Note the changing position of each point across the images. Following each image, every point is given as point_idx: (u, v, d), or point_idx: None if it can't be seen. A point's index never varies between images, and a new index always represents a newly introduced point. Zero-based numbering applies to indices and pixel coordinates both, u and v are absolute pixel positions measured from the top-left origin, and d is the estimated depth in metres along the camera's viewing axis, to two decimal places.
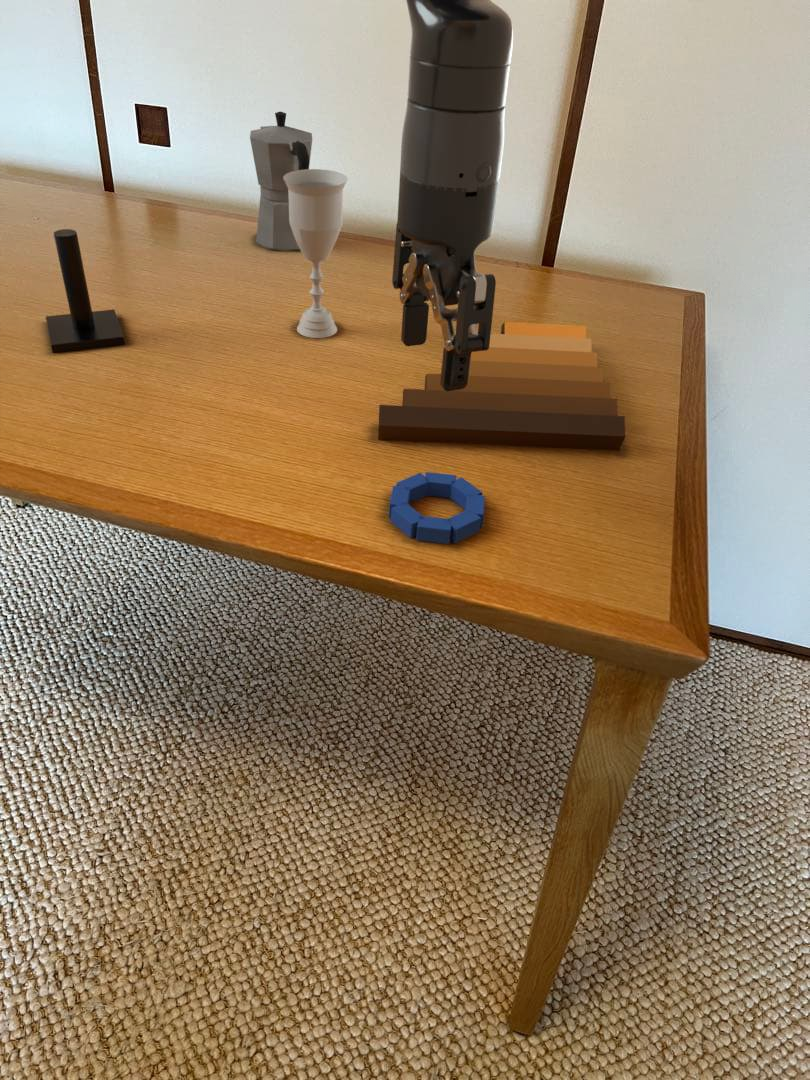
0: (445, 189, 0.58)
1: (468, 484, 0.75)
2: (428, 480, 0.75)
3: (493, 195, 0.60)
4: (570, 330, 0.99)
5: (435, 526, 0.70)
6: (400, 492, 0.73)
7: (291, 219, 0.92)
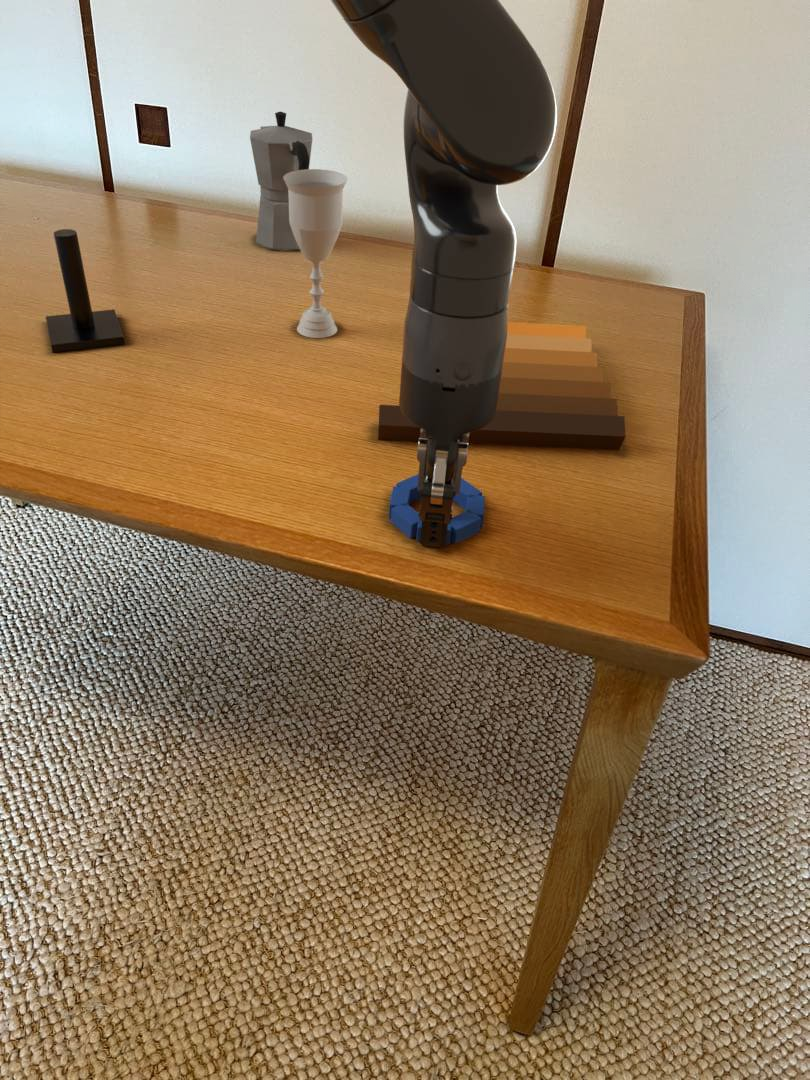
0: (423, 379, 0.58)
1: (468, 484, 0.75)
2: None
3: (480, 393, 0.59)
4: (570, 330, 0.99)
5: None
6: (400, 493, 0.73)
7: (291, 219, 0.92)
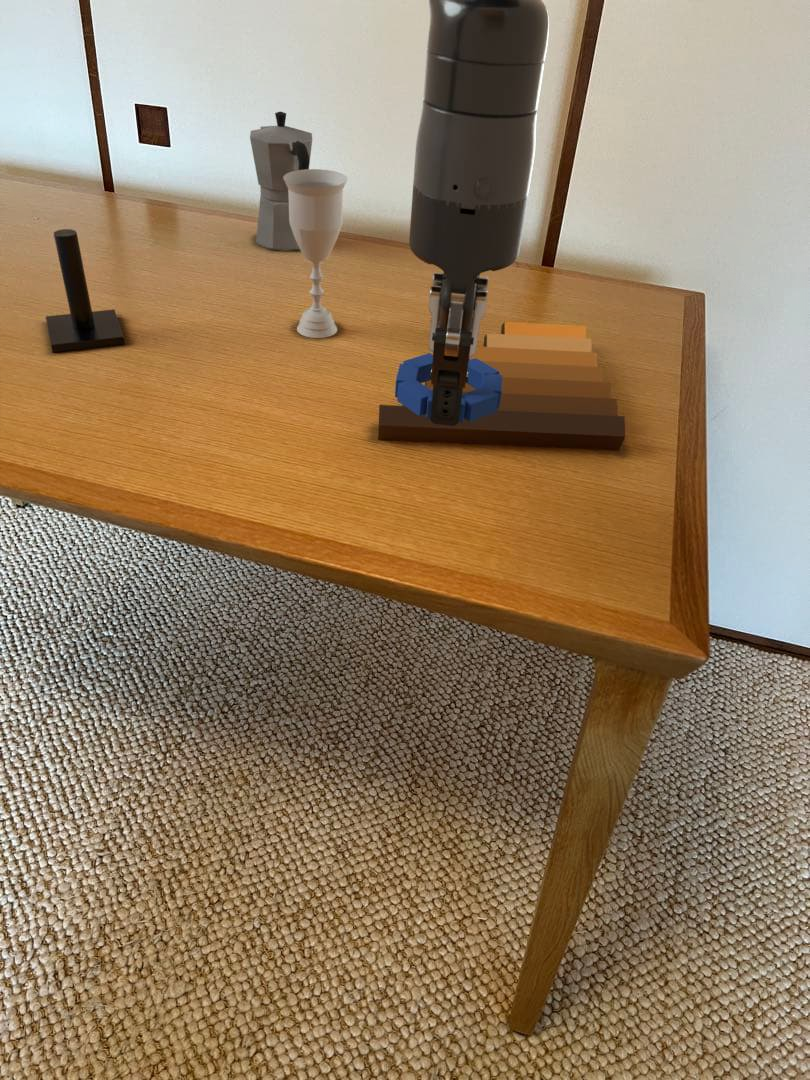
0: (438, 201, 0.50)
1: (483, 364, 0.67)
2: None
3: (503, 218, 0.51)
4: (570, 330, 0.99)
5: None
6: (408, 369, 0.66)
7: (291, 219, 0.92)
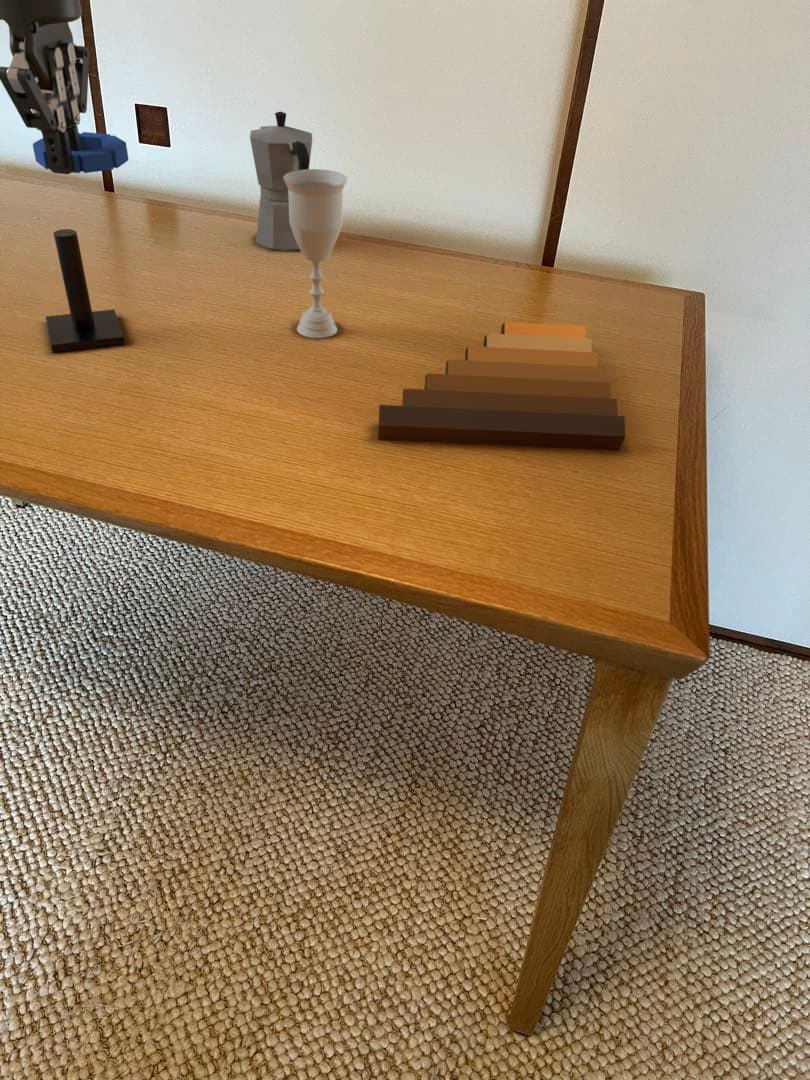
0: None
1: (116, 138, 0.83)
2: (81, 135, 0.83)
3: None
4: (570, 330, 0.99)
5: None
6: None
7: (291, 219, 0.92)
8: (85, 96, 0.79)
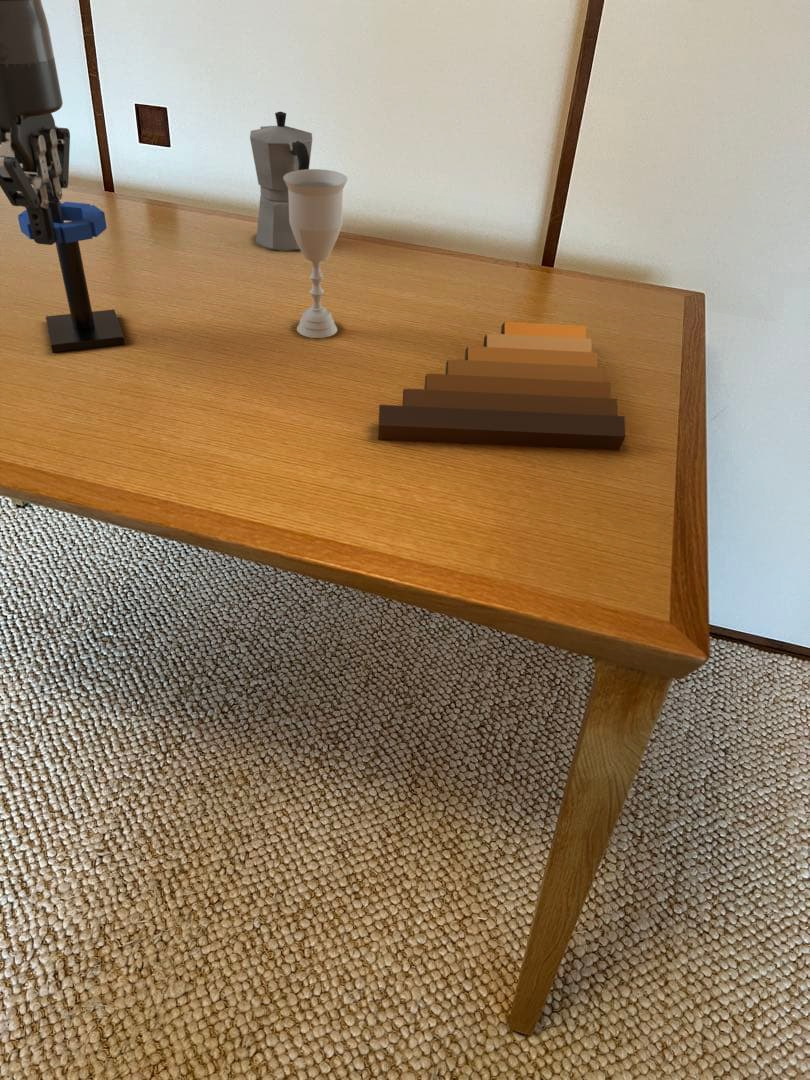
0: None
1: (95, 208, 0.90)
2: (63, 205, 0.91)
3: (22, 74, 0.74)
4: (570, 330, 0.99)
5: None
6: None
7: (291, 219, 0.92)
8: (66, 173, 0.86)
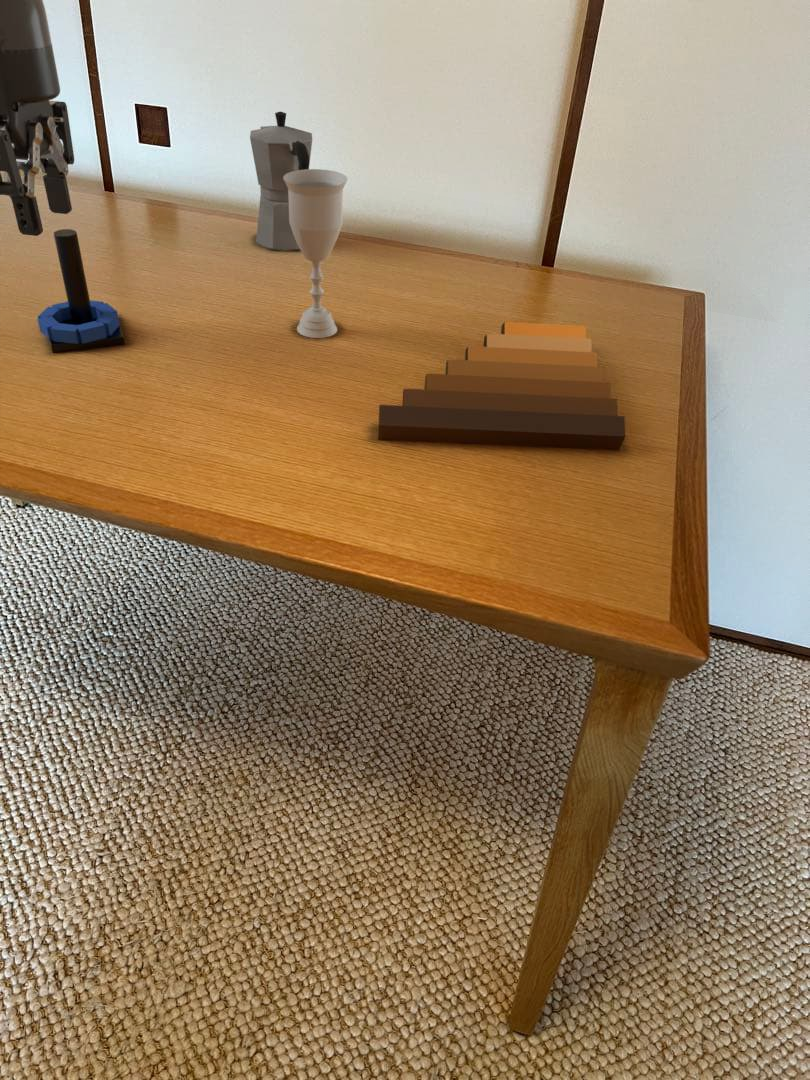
0: None
1: (109, 306, 0.97)
2: None
3: (19, 61, 0.73)
4: (570, 330, 0.99)
5: (64, 329, 0.92)
6: (50, 310, 0.96)
7: (291, 219, 0.92)
8: (71, 148, 0.86)
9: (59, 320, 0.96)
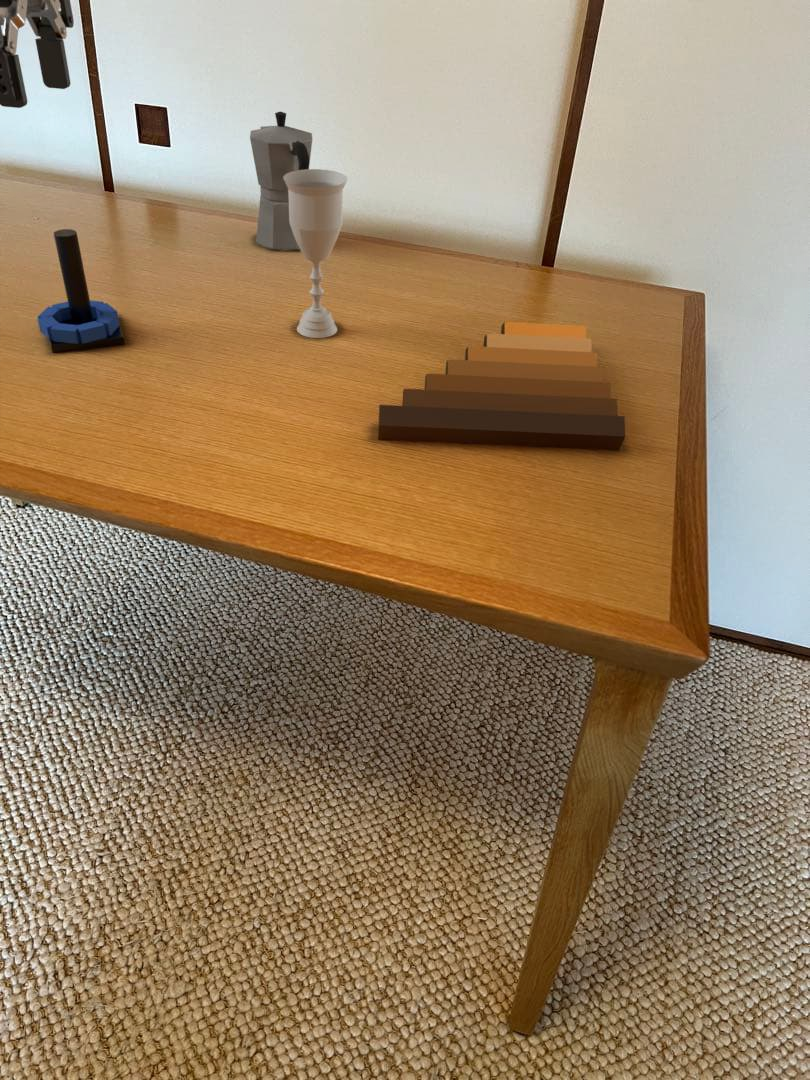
0: None
1: (109, 306, 0.97)
2: None
3: None
4: (570, 330, 0.99)
5: (64, 329, 0.92)
6: (50, 310, 0.96)
7: (291, 219, 0.92)
8: (69, 6, 0.71)
9: (59, 320, 0.96)
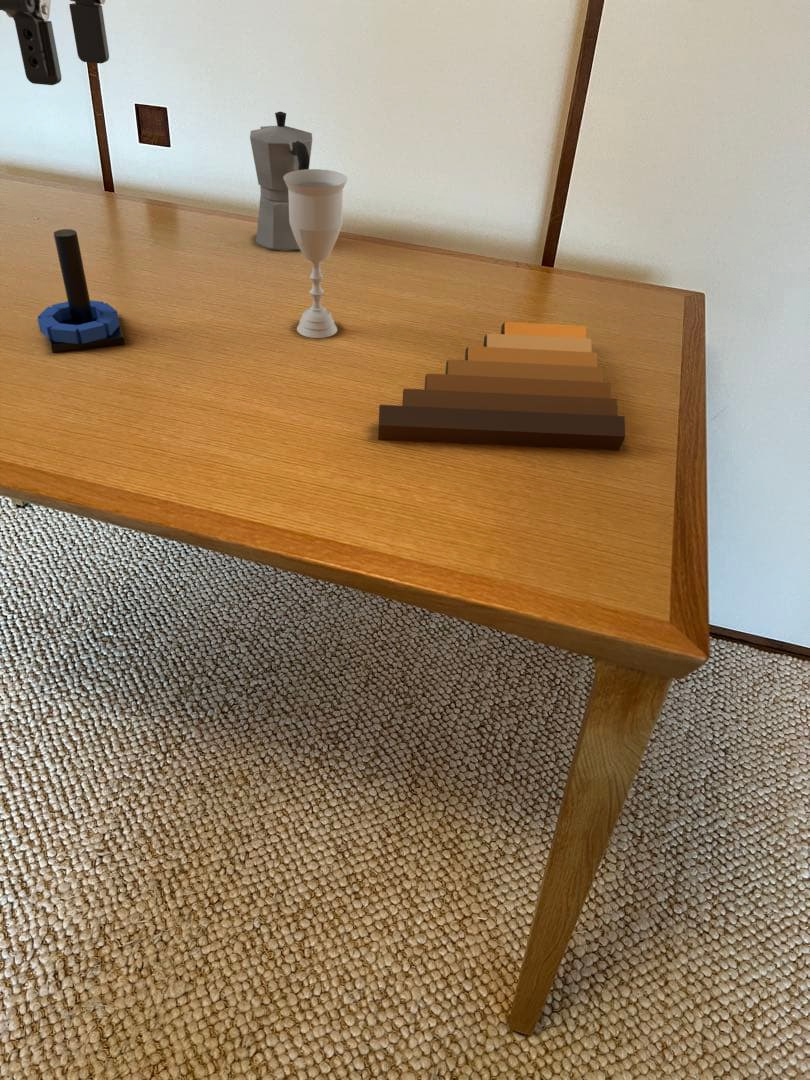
0: None
1: (109, 306, 0.97)
2: None
3: None
4: (570, 330, 0.99)
5: (64, 329, 0.92)
6: (50, 310, 0.96)
7: (291, 219, 0.92)
8: None
9: (59, 320, 0.96)
